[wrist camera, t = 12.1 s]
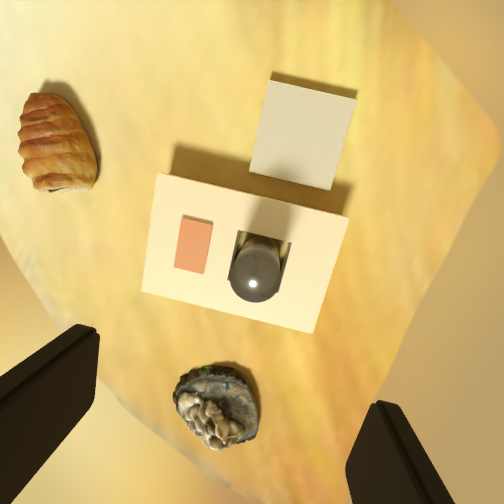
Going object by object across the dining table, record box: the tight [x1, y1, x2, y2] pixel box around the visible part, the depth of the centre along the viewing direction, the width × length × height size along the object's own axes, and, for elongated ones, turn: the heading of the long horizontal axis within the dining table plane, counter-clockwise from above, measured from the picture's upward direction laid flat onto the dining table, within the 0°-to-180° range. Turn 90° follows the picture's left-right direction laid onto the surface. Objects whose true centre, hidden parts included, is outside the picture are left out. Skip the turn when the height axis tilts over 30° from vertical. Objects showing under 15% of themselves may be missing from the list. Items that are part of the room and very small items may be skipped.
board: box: [141, 172, 350, 334], centre depth 27 cm, size 12×18×3 cm, turn 77°
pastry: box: [18, 93, 98, 193], centre depth 26 cm, size 9×7×4 cm
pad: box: [249, 80, 357, 191], centre depth 25 cm, size 8×8×1 cm
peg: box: [230, 236, 281, 303], centre depth 24 cm, size 4×4×8 cm
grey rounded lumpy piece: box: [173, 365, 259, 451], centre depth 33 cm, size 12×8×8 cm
